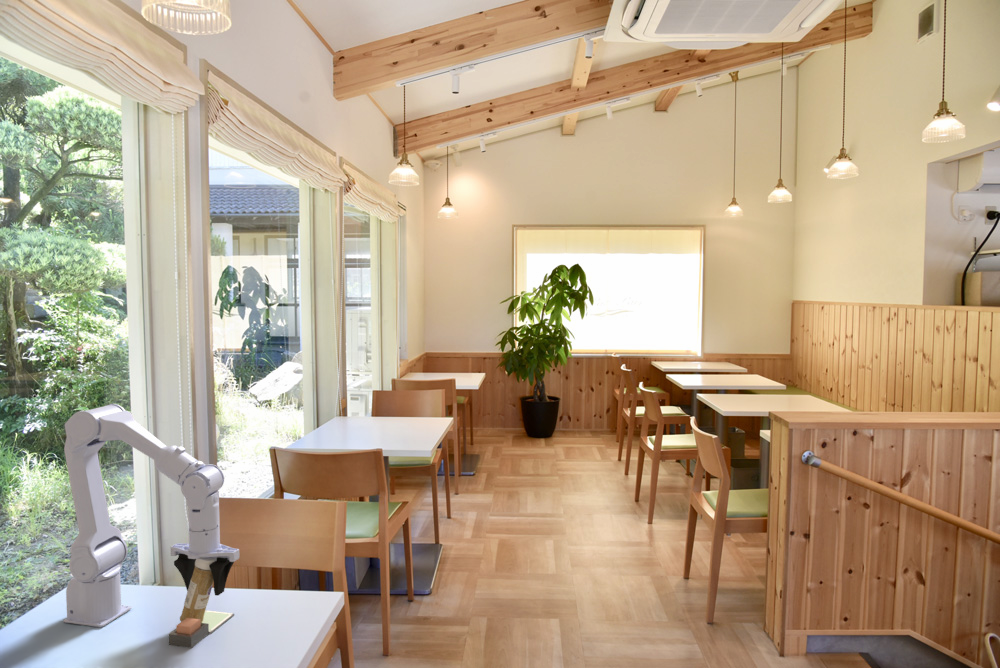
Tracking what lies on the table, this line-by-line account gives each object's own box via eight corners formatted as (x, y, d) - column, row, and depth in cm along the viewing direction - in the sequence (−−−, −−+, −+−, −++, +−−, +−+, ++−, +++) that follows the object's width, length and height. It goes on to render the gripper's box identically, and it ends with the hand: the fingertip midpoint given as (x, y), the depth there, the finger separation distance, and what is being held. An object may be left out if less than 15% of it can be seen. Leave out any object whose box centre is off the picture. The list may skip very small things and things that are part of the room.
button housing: (168, 645, 121) (168, 634, 121) (186, 631, 126) (186, 620, 125) (191, 648, 120) (191, 637, 120) (208, 634, 125) (208, 623, 124)
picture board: (177, 629, 126) (177, 627, 126) (202, 611, 134) (202, 609, 134) (210, 634, 125) (210, 632, 125) (234, 615, 132) (234, 613, 132)
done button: (176, 635, 121) (176, 625, 121) (187, 627, 124) (187, 617, 124) (190, 637, 121) (190, 627, 121) (200, 629, 124) (200, 619, 124)
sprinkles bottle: (201, 627, 126) (219, 562, 127) (176, 624, 125) (195, 559, 125) (204, 616, 131) (222, 553, 131) (181, 613, 129) (198, 550, 130)
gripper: (158, 531, 126) (160, 597, 126) (223, 536, 123) (224, 604, 123) (183, 518, 132) (185, 581, 133) (245, 524, 130) (246, 588, 130)
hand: (205, 591), depth 129 cm, fingers closed on sprinkles bottle, 6 cm apart
